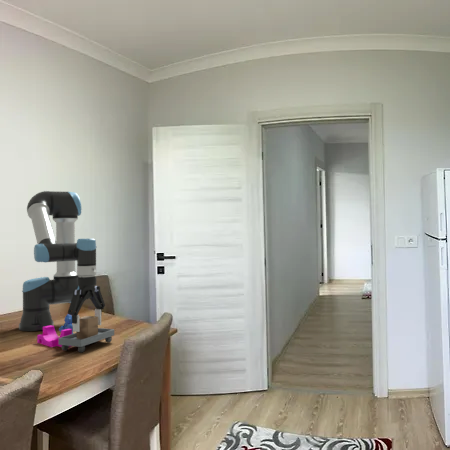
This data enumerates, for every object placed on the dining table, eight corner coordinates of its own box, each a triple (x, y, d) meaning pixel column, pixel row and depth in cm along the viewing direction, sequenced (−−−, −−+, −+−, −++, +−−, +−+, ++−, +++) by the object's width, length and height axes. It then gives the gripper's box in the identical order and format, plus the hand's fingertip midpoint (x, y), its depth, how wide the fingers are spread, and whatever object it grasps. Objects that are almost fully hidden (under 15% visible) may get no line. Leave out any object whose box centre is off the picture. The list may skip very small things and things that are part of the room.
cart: (58, 351, 180) (58, 338, 180) (93, 339, 200) (93, 327, 200) (81, 353, 176) (81, 340, 176) (114, 341, 196) (114, 329, 196)
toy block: (37, 345, 192) (37, 327, 192) (50, 342, 197) (50, 325, 198) (58, 350, 184) (58, 332, 184) (72, 347, 189) (72, 329, 189)
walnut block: (76, 338, 186) (76, 318, 187) (86, 335, 192) (86, 315, 192) (88, 339, 184) (88, 319, 184) (98, 336, 190) (97, 316, 190)
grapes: (57, 341, 199) (57, 313, 200) (73, 339, 202) (73, 312, 203) (59, 346, 189) (59, 317, 189) (77, 345, 192) (77, 316, 192)
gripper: (73, 279, 175) (73, 335, 175) (113, 273, 198) (113, 322, 198) (57, 278, 178) (58, 333, 178) (98, 273, 201) (99, 321, 201)
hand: (87, 328), depth 188 cm, fingers open, 13 cm apart
